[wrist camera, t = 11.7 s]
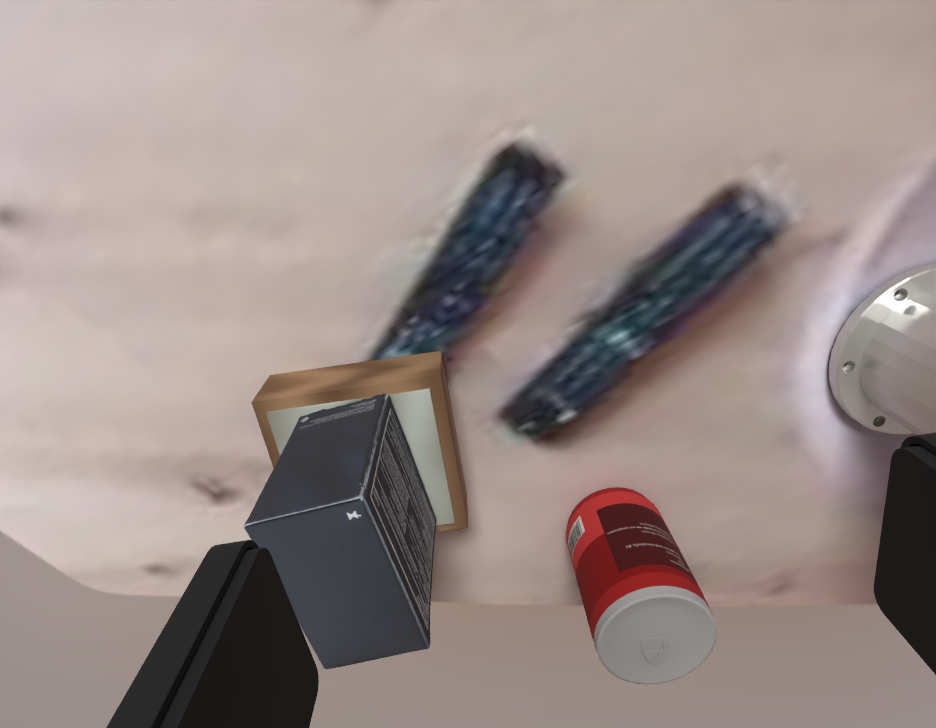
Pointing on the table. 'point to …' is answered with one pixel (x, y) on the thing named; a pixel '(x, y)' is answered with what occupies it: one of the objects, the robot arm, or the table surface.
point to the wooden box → (416, 404)
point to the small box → (351, 533)
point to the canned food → (637, 589)
